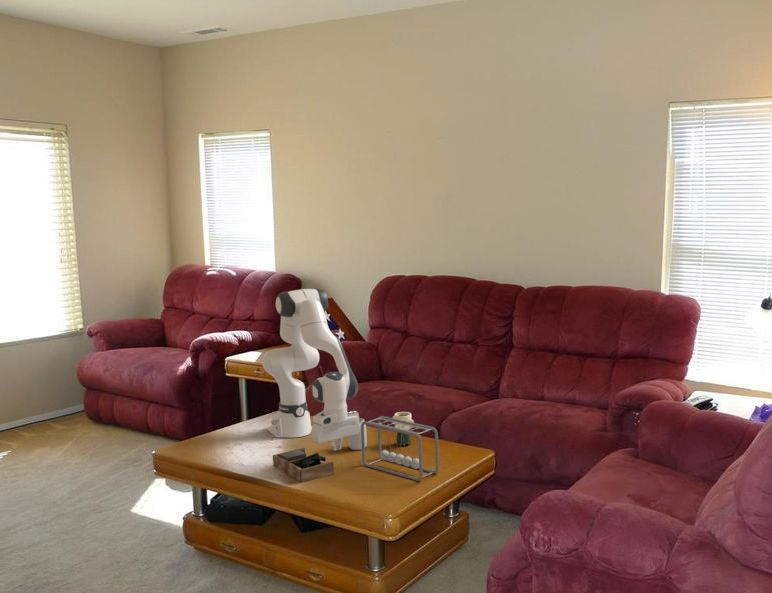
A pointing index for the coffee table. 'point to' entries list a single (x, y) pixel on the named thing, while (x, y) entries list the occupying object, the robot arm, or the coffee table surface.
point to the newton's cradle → (400, 458)
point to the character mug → (405, 417)
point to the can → (358, 438)
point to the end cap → (310, 461)
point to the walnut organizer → (301, 473)
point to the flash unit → (293, 455)
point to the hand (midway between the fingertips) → (336, 449)
